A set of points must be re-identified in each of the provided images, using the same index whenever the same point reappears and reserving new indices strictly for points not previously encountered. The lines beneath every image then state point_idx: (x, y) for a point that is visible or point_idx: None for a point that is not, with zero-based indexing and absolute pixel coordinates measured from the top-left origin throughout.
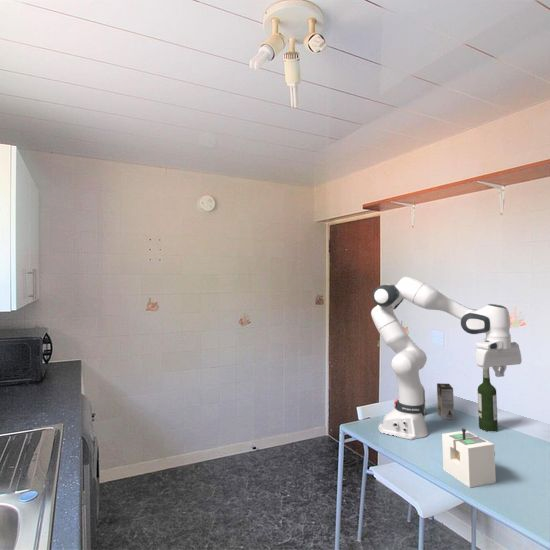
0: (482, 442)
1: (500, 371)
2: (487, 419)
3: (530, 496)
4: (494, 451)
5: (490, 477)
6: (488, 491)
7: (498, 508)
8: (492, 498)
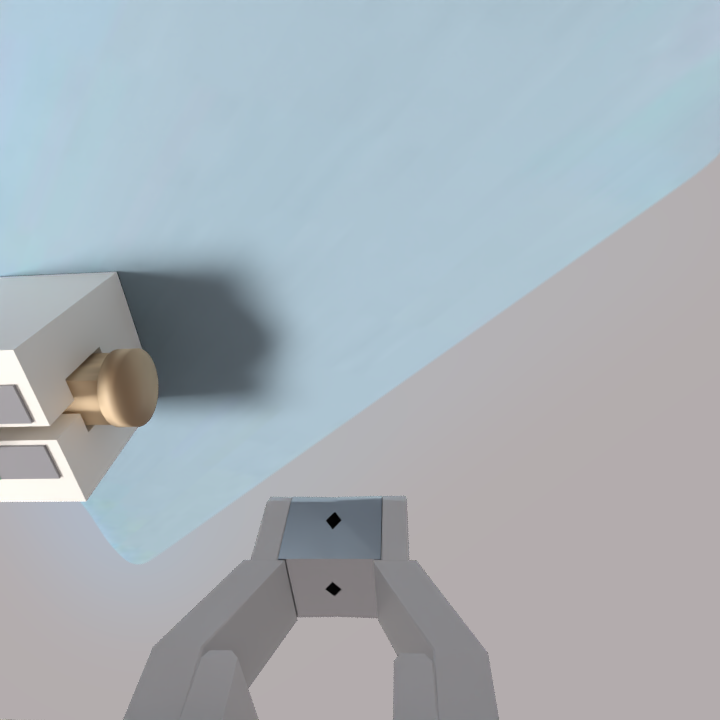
0: (39, 478)
1: (376, 583)
2: None
3: (218, 472)
4: (145, 423)
5: None
6: None
7: None
8: None
